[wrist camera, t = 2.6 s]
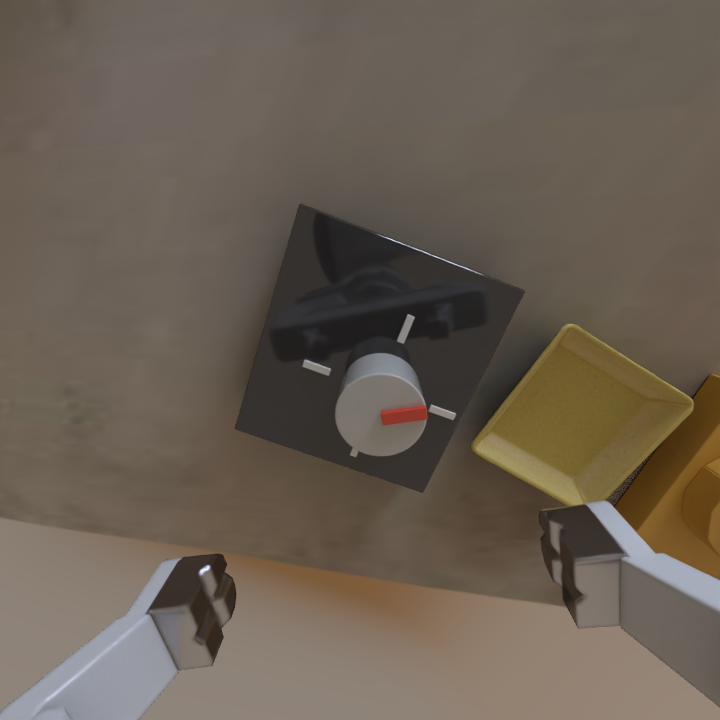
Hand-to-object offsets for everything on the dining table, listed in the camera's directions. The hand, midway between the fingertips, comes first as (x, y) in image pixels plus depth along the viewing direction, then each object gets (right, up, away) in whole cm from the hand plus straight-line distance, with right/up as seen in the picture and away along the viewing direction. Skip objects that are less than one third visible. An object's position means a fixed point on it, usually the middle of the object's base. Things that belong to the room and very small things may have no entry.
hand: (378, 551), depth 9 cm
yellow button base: (+21, -2, +13) cm, 25 cm away
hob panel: (0, +6, +12) cm, 13 cm away
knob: (+1, +3, +9) cm, 10 cm away
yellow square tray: (+12, +2, +13) cm, 17 cm away
